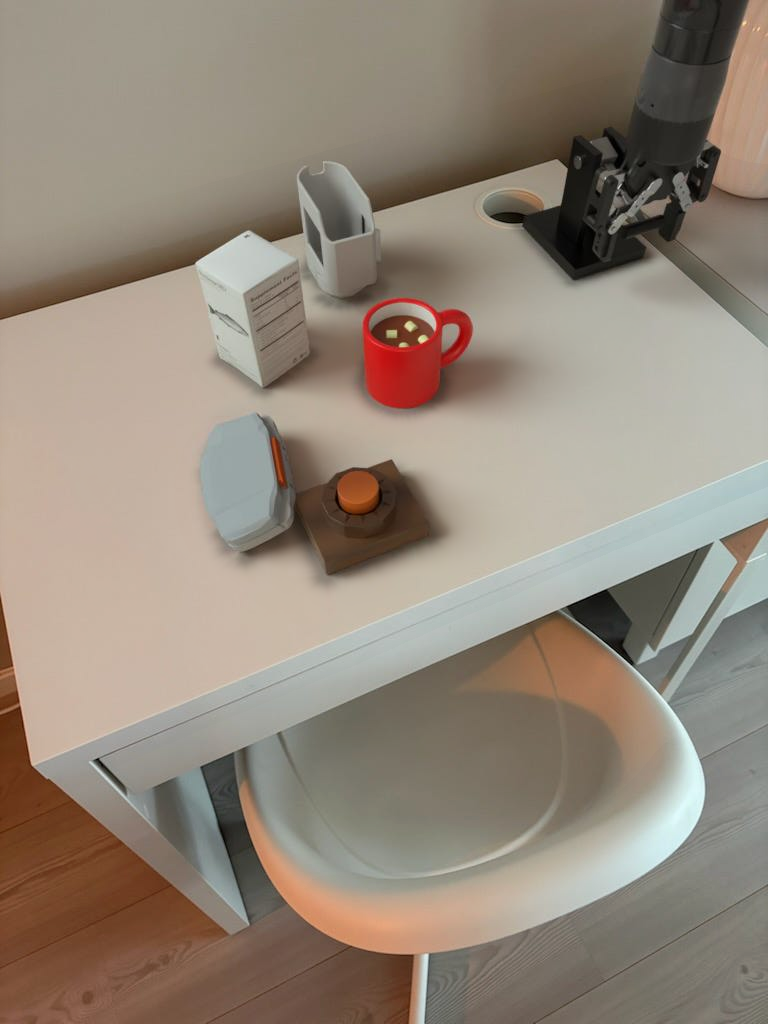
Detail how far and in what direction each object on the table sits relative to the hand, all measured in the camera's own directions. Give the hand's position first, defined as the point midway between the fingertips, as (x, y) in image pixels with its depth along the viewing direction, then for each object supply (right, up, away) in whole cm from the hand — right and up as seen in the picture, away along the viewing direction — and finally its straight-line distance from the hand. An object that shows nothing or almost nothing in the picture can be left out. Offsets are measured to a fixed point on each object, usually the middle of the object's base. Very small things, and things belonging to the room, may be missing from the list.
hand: (634, 247), depth 84 cm
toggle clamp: (-4, +4, +9) cm, 10 cm away
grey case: (-45, -28, -14) cm, 55 cm away
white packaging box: (-41, -13, -2) cm, 43 cm away
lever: (-2, +6, 0) cm, 6 cm away
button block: (-30, -31, -15) cm, 46 cm away
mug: (-24, -15, -4) cm, 29 cm away
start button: (-30, -29, -18) cm, 45 cm away
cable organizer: (-33, -3, +5) cm, 34 cm away
